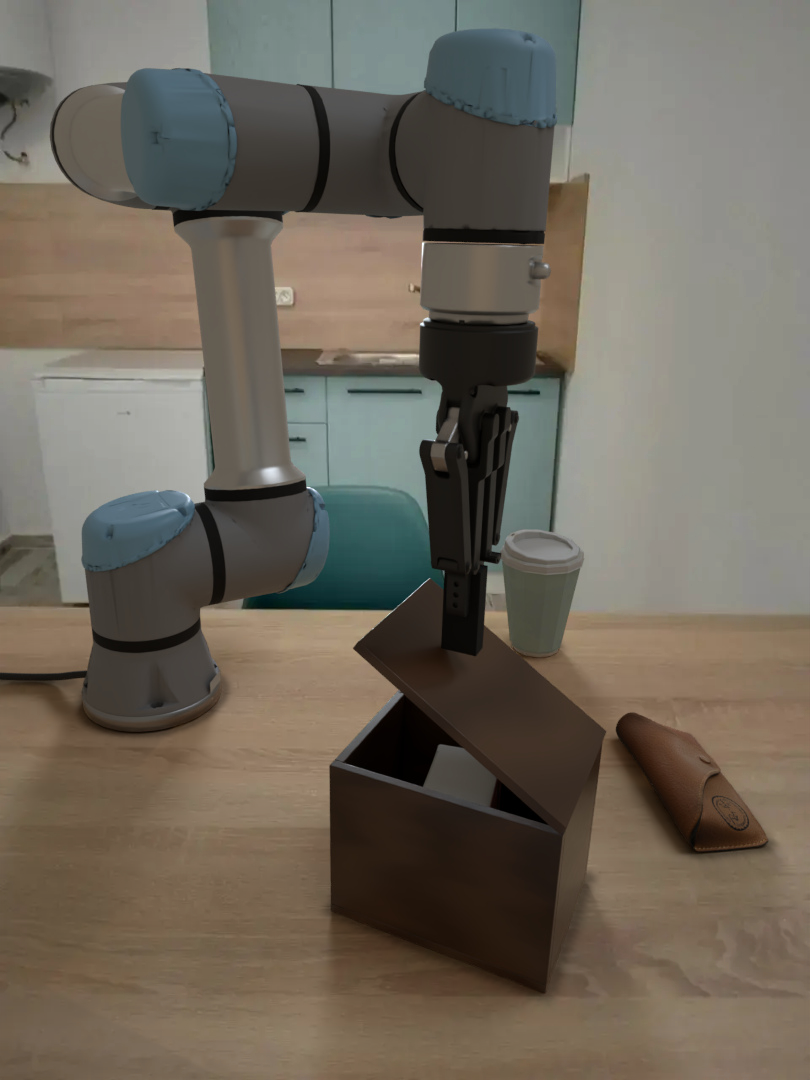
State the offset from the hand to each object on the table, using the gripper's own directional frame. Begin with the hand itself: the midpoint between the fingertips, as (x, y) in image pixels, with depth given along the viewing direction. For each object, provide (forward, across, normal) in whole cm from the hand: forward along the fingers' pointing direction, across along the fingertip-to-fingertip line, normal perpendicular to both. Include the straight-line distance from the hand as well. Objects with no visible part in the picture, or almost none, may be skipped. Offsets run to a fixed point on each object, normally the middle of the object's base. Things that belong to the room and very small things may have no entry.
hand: (461, 647), depth 61 cm
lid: (+3, 0, -2) cm, 4 cm away
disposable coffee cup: (+23, +45, +6) cm, 51 cm away
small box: (+22, 0, -1) cm, 22 cm away
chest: (+22, 0, -1) cm, 22 cm away
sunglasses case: (+23, +23, -16) cm, 36 cm away
